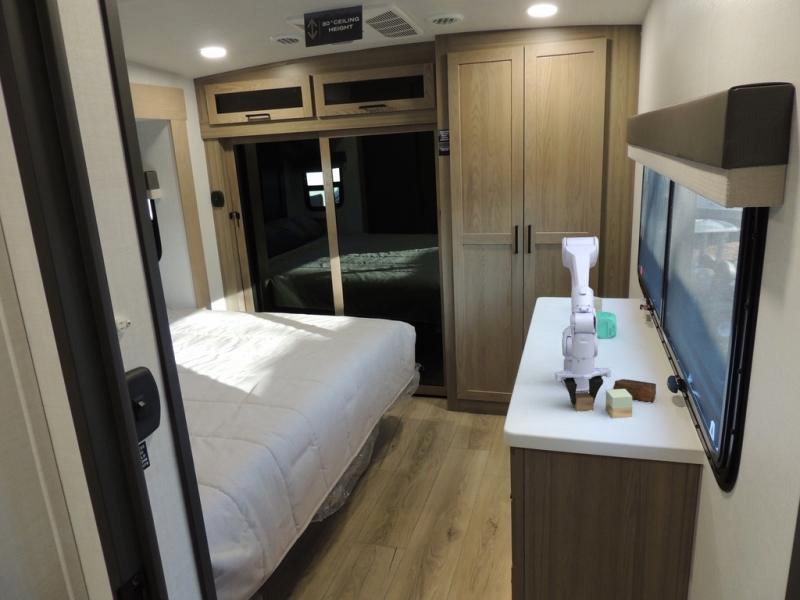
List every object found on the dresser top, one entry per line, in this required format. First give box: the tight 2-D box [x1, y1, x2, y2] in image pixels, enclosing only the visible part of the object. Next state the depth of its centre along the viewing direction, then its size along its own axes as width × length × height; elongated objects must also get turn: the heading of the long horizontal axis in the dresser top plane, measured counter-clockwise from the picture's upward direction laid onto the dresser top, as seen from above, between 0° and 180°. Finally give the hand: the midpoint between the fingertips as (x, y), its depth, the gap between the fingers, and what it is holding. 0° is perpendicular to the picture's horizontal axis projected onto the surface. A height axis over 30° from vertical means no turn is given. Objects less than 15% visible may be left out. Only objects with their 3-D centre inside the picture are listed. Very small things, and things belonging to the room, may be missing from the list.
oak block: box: [605, 400, 633, 419], centre depth 154 cm, size 5×5×3 cm
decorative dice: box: [593, 311, 618, 340], centre depth 214 cm, size 8×8×8 cm
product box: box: [593, 295, 603, 312], centre depth 240 cm, size 6×6×7 cm
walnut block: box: [570, 391, 595, 412], centre depth 159 cm, size 4×4×4 cm
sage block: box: [605, 389, 633, 408], centre depth 154 cm, size 5×5×3 cm
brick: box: [612, 378, 657, 404], centre depth 163 cm, size 11×4×5 cm, turn 56°
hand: (582, 402), depth 159 cm, fingers closed on walnut block, 4 cm apart
